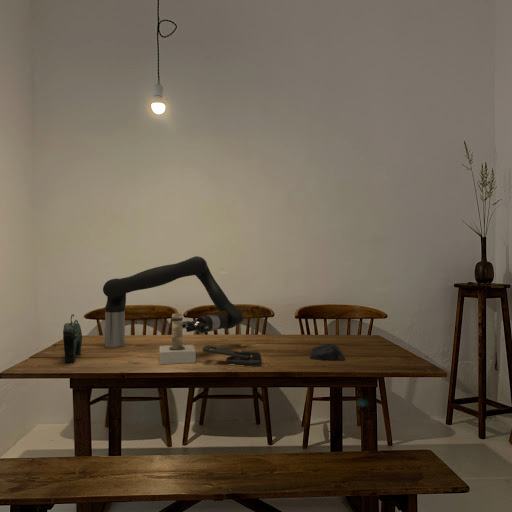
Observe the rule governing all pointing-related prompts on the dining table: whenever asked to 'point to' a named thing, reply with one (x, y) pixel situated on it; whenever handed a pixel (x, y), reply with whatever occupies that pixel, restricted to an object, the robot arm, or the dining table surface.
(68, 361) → the ceramic cat
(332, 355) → the dark slate chunk
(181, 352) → the well block
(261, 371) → the dining table surface
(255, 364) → the zipper pull
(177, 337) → the beech dowel
